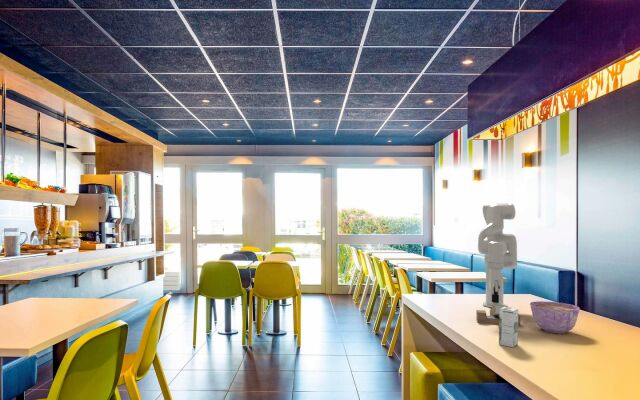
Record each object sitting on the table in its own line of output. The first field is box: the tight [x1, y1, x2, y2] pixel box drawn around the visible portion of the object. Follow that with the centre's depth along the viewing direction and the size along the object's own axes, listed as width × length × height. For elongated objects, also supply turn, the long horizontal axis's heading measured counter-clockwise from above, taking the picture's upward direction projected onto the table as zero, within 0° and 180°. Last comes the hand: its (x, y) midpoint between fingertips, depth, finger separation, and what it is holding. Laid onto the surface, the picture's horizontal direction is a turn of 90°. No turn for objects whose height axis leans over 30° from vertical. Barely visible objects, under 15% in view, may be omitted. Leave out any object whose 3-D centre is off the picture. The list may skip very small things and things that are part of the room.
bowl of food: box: [529, 300, 580, 334], centre depth 198 cm, size 20×20×12 cm
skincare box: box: [489, 304, 509, 317], centre depth 215 cm, size 6×4×12 cm
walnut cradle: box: [475, 309, 521, 327], centre depth 211 cm, size 6×19×5 cm, turn 75°
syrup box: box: [498, 306, 519, 348], centre depth 174 cm, size 6×6×14 cm
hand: (495, 302), depth 220 cm, fingers closed
